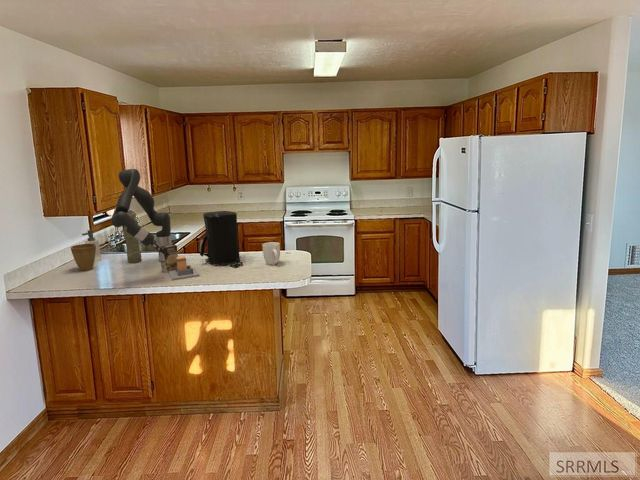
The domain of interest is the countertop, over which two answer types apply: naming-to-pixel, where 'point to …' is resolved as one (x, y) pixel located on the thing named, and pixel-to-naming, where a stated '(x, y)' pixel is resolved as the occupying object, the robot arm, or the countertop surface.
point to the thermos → (132, 243)
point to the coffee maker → (221, 239)
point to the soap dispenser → (92, 241)
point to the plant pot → (84, 256)
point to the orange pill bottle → (181, 263)
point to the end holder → (183, 273)
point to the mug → (271, 252)
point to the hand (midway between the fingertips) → (166, 252)
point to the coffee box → (169, 258)
